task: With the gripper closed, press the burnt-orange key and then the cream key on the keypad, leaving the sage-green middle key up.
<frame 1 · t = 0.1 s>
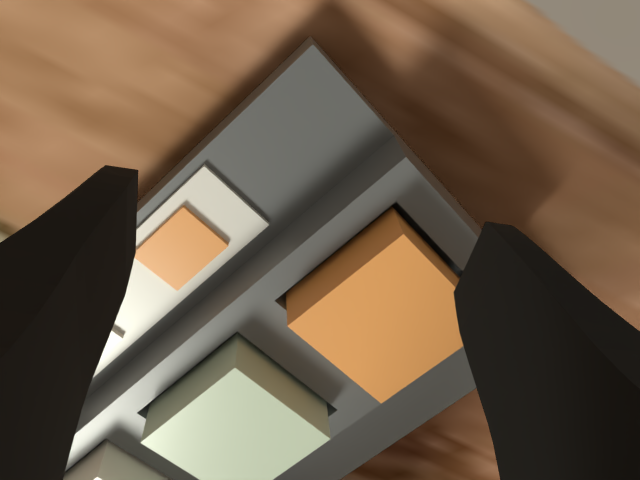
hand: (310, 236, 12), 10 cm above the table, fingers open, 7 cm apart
keypad: (242, 353, 27), on the table
orange key: (386, 308, 21), point 4 cm above the table, slide at 0.0 cm
sage key: (238, 421, 23), point 4 cm above the table, slide at 0.0 cm
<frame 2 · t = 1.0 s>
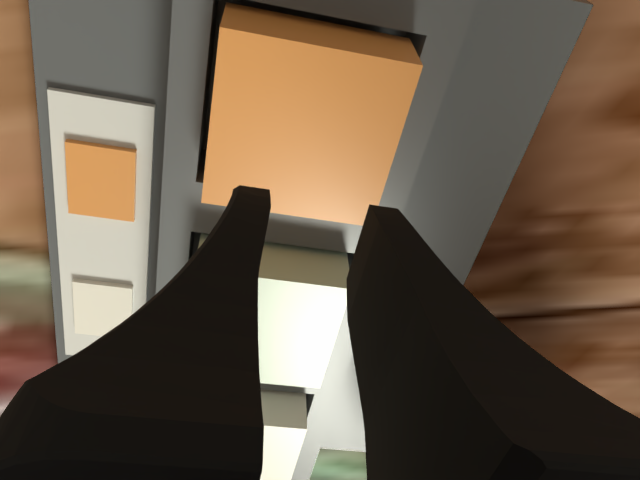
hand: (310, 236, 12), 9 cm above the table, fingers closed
keypad: (266, 242, 24), on the table
cream key: (237, 439, 25), point 4 cm above the table, slide at 0.0 cm
orange key: (303, 121, 17), point 4 cm above the table, slide at 0.0 cm
sage key: (263, 313, 21), point 4 cm above the table, slide at 0.0 cm
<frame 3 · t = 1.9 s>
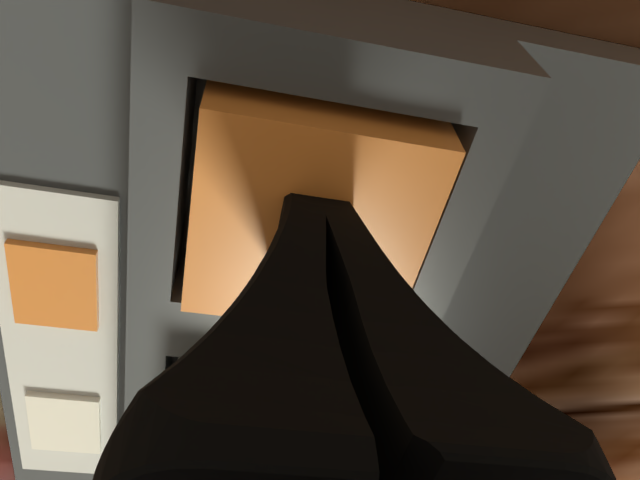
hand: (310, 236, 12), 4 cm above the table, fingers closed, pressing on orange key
keypad: (263, 339, 20), on the table
orange key: (309, 211, 13), point 3 cm above the table, slide at 0.9 cm, touching gripper
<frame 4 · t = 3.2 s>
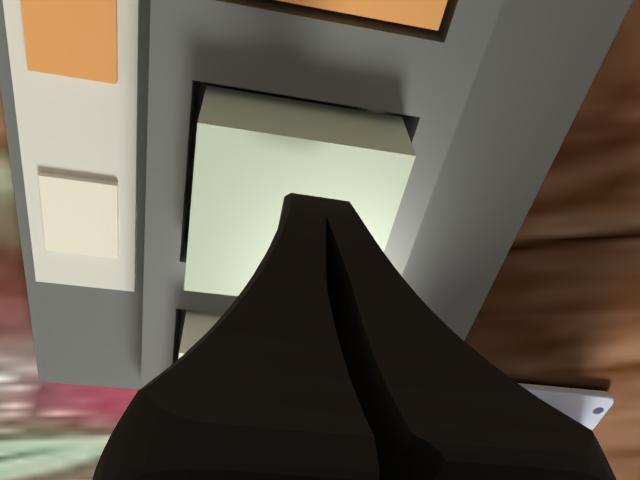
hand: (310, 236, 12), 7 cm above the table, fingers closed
keypad: (289, 132, 19), on the table
cream key: (254, 386, 20), point 4 cm above the table, slide at 0.0 cm
sage key: (291, 205, 16), point 4 cm above the table, slide at 0.0 cm
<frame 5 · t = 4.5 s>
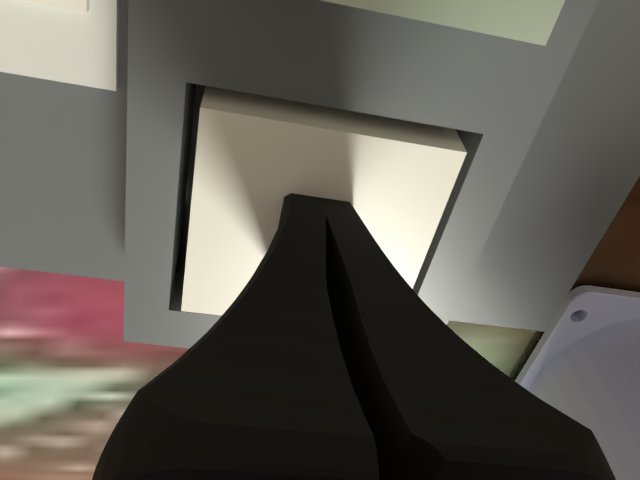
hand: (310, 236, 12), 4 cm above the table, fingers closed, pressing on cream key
cream key: (310, 211, 13), point 3 cm above the table, slide at 1.2 cm, touching gripper
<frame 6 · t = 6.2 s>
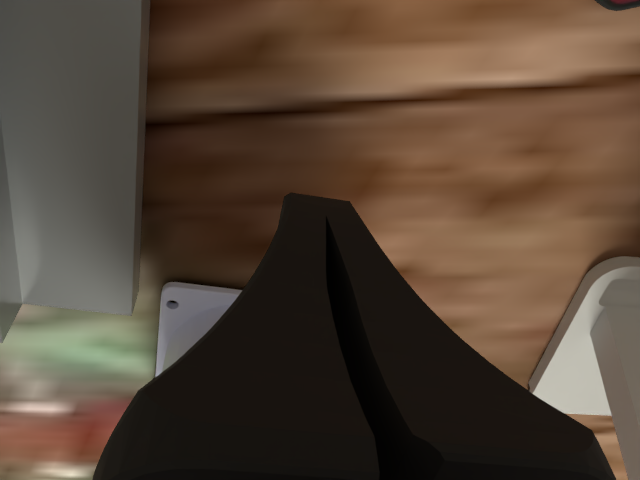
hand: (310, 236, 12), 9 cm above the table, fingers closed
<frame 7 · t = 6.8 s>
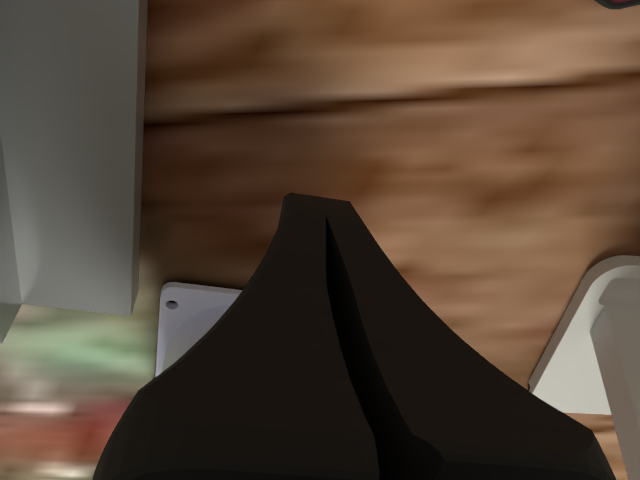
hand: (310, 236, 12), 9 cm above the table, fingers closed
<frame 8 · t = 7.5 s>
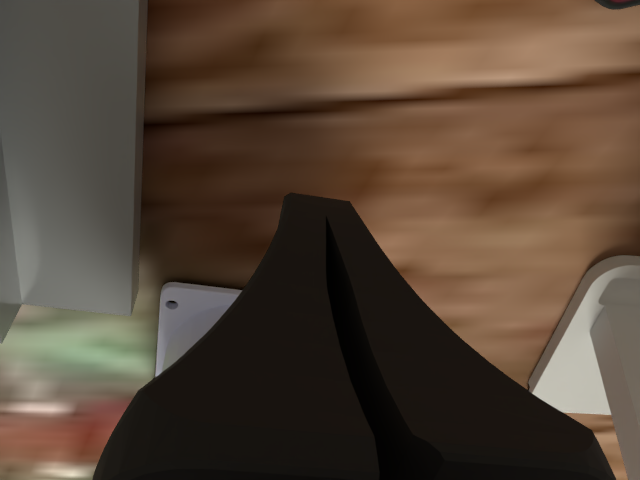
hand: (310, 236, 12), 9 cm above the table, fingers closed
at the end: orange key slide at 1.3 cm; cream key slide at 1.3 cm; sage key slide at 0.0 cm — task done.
